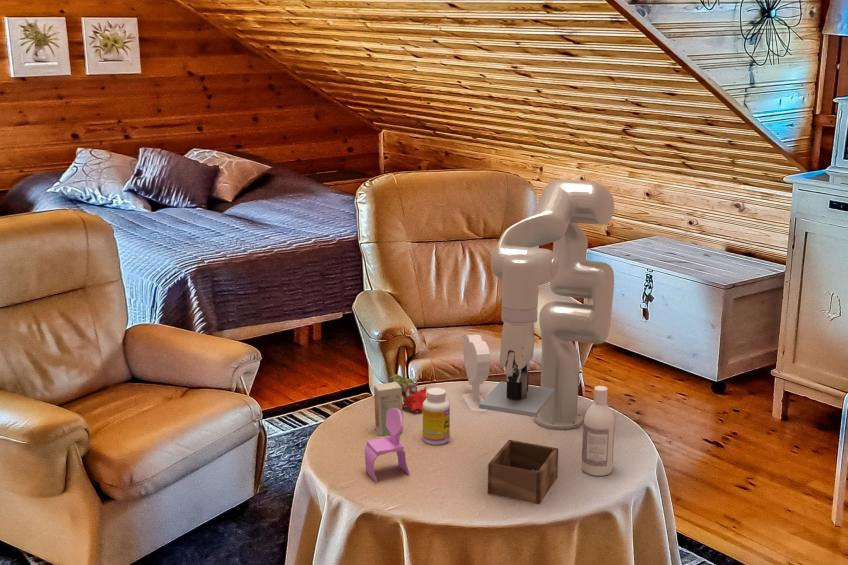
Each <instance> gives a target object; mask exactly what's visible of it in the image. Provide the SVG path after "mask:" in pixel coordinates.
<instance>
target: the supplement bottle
mask: <svg viewBox="0 0 848 565" xmlns="http://www.w3.org/2000/svg"><path fill="white" fill-rule="evenodd" d="M426 396H427V398H426V400H424V402H423V410H422V440H423V442H424V443H426V444H429V445H433V446H435V445H437V446H439V445H443V444H446V443H448V442H449V441H450V436H451V435H450V433H451V432H450V429H451V427H450V425H451V424H450V422H451V421H450V420H451V417H450V416H451V414H450V412H451V411H450V410H451V409H450V408H451V405H450V401H448V399H446V397H447V391H446V389H444V388H441V387H431V388H428V389H426Z"/></svg>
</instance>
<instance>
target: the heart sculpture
mask: <svg viewBox="0 0 848 565" xmlns="http://www.w3.org/2000/svg"><path fill="white" fill-rule="evenodd" d="M462 340H463V341H462V349H463V351H462V354H463V360H464V361H463V362H464V366H465V371H466V376H467V380H468V383H469V384H468V385H469V386H471V392H468V393H463V394H461V397H462V398H463V400H464V401H465V403H466V404H467V406H468V407H469V409H470V410H471V411H472V412H480V413H481V412H486V411H488V410H486V409H480V408H479V403H480V402H481V401H482V400H483V399H484V398H483V397H482V396H481V394H480V391H481V390H480V386H481V385H482V384H484V383H485V381H486V382H487V380H488V378H489V375H490V370H491V369H490V368H491V367H490V366H491V353H490V348H489V346H488V344H487V342H486V341H485V340H483V339H482V336H481V335H480V334H466V335H463V339H462Z"/></svg>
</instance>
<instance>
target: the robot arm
mask: <svg viewBox="0 0 848 565" xmlns="http://www.w3.org/2000/svg"><path fill="white" fill-rule="evenodd" d="M538 199H539V200H538V201H537V204H536V206H535V208H534V211H533V213H532V215H530V216H528V217H525V218H523V219H522V220H520V221H518V222H516V223H514V224H513V225H511V226H509V227H507V229H505V231H503V233H502V234H501V235H500V237H499V239H498V242H497V243H496V245H495V247H494V251H493V252H492V257H491V262H490V263H491V264H490V266H491V271H492V274H493V275H494V276H495V277H496V278H498V279H500V280H502V281H501V282H502V283H501V286H502V287H501V321H502V322H503V326H502V332H501V338H500V339H501V340H500V348H499V349H500V351H499V352H500V353H499V367H500V368H505V367H506V368H505V376H506V382H507V398H508V399H515V400H521V398H522V382H520V380H521V372H525V373H527V391H528V385H529V376H530V375H529V373H530V366H529V365H530V361H531V360H532V359H533V356H534V350H535V324H536V323H537V322H538V321H539V323H538V324H539V329H540V338H541V368H540V369H541V371H540V372H541V373H540V387H543V388H550V389H554V394H553V396H552V397H551V398H550V400H549V401H548V402H547V403H546V405H545V406H544V407H543V409H542V410H541V411H540V412H539V414H538V415H537V416H536V417H533V420H534V422H535V423H537V425H539V426H540V427H541V426H542V427H543V428H547V429H552V430H570V429H574V428H577V427H580V426H581V425H582V424H583V422H584V417H583V415H582V414H581V412H579V411H578V403H579V402H578V399H579V376H580V354H579V350H578V349H577V347H576V345H575V344H574V343H573V342H577V343H586V344H594V345H596V344H597V345H599V344H604V342H606V341H607V339H608V337H609V333H610V327H611V320H612V309H613V302H614V300H613V299H614V291H615V290H614V289H615V274H614V270H613V269H614V268H613V267H612V266H611V265H610V264H608V263H607V262H603V261H598V260H597V261H596V260H587V257H588V255H587V254H588V246H589V241H588V237H587V236H586V234H585V232H584V230H583V229H582V227H581V226H580V224H586V225H596V226H597V225H598V226H599V225H602V226H603V225H606V224H608V223H610V221H611V220H612V218H613V216H614V213H615V200H614V197H613V194H612V193H611V192H610V190H609V189H607V188H606V187H605V186H604V185H603V184H601V183H598V182H595V181H589V180H573V179H571V180H570V179H557V180H552V181H550V182H549V183H548V184H547V185H546V186H545V187H544V189H543V191H542V193H541V194H540V197H539V198H538ZM551 243H552V244H553V245H552V250H550V249H548V248H541V247H540V246H545V245H548V244H551ZM539 247H540V248H539ZM548 283H549V286H550V290H551V292H552V293H553V294H554V295H557V296H561V297H566V298H567V297H569V298H575V299H576V298H578V299H585V300H586V299H587V300H591V301H592V304H585V303H577V302H568V301H561V300H560V301H550V302H547V303H546V304H544V305H542V307H541V309H540V312H539V311H538V308H539V307H538V306H539V286H541V285H546V284H548ZM538 313H539V314H538ZM538 315H539V317H538ZM514 371H517V375H516V373H514Z"/></svg>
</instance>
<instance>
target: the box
mask: <svg viewBox="0 0 848 565" xmlns="http://www.w3.org/2000/svg"><path fill="white" fill-rule="evenodd" d="M558 466H559V448H557V447H552V446H546V445H541V444H534V443H529V442H524V441H520V440H513V439H508V440H507V441H506V443H504V445H503V446H502V447H501V448H500V450H499V451H498V452H497V453H496V455H495V456H494V457H493V458H492V459H491V460H490V461H489V462H488V466H487V494H488V495H491V496H492V495H494V496H496V497H497V496H498V497H503V498H507V499H511V500H512V499H513V500H518V501H522V502H527V503H532V504H537V505H540V504H541V502H542V501H543V500H544V498H545V497H546V495H547V493H548V492H549V491H550V489H551V488H552V486H553V484H554V483H555V482H556V480H557V478H558V471H559V470H558V468H559V467H558ZM532 470H534V471H532ZM537 471H538V472H537Z"/></svg>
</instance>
